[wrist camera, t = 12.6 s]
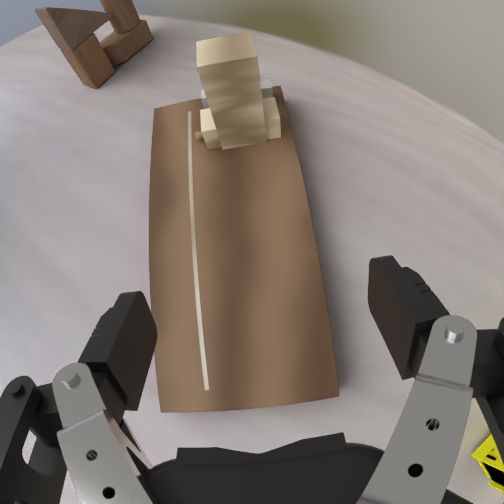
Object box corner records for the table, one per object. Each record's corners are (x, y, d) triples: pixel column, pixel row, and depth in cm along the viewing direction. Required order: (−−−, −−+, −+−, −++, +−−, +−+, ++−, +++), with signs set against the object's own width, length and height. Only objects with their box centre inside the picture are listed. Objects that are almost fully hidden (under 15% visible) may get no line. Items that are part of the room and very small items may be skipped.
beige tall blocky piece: (198, 154, 25) (164, 74, 17) (197, 127, 26) (166, 48, 18) (281, 140, 25) (277, 54, 16) (275, 113, 26) (269, 29, 17)
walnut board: (170, 407, 21) (149, 417, 18) (161, 121, 29) (147, 95, 26) (334, 392, 21) (344, 400, 17) (281, 100, 29) (279, 70, 25)
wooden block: (83, 85, 34) (19, -13, 16) (138, 36, 36) (95, -62, 18) (97, 90, 33) (30, -16, 16) (154, 39, 35) (113, -67, 18)
